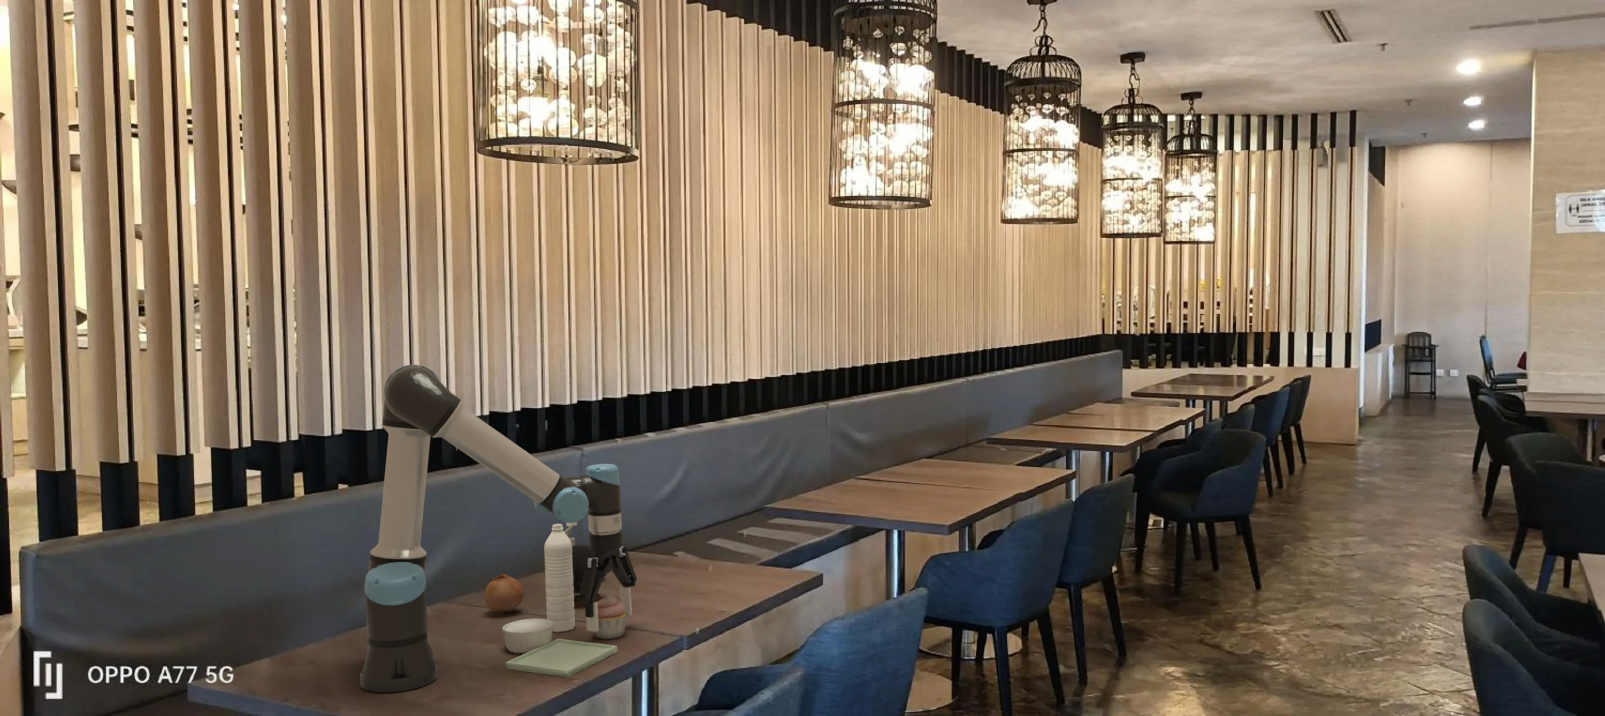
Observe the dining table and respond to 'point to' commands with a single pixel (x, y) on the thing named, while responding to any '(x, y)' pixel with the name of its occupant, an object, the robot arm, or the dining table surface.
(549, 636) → the ramekin
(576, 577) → the black ball on stand
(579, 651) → the tray
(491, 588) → the onion
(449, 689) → the dining table surface
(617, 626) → the cupcake
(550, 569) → the water bottle
